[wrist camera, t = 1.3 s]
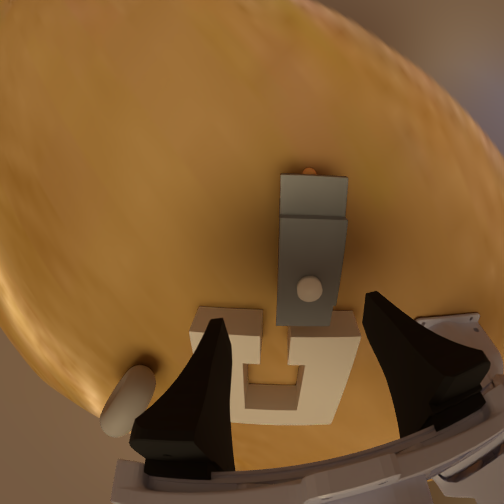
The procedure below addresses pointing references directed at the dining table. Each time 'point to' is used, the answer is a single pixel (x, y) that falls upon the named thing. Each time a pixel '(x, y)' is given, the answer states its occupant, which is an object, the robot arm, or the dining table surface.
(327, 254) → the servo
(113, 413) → the donut
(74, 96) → the dining table surface
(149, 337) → the dining table surface
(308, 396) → the chassis
